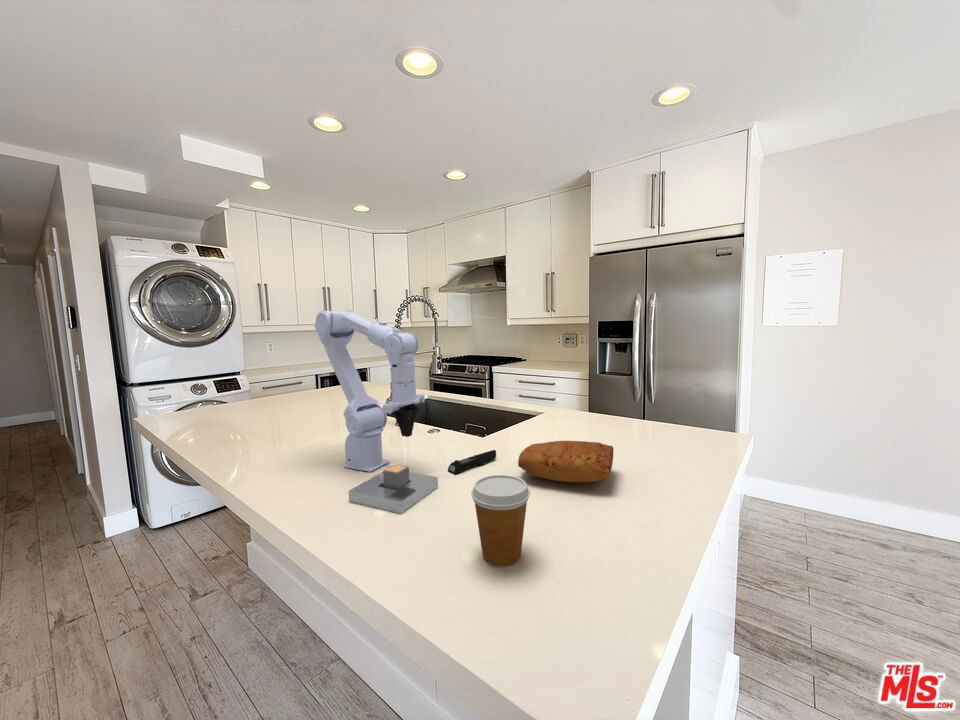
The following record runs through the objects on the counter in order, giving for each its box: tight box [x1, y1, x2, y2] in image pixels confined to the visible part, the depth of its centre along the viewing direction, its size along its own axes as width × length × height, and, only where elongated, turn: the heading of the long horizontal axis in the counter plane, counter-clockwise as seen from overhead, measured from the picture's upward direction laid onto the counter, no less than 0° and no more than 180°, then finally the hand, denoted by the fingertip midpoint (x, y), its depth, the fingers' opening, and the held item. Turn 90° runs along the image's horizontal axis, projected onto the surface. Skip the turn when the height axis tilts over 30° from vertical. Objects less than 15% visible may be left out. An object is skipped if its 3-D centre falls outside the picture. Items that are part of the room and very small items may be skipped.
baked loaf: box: [517, 440, 614, 483], centre depth 97 cm, size 22×17×8 cm
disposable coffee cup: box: [470, 474, 531, 567], centre depth 65 cm, size 10×10×12 cm
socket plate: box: [348, 471, 439, 515], centre depth 90 cm, size 14×14×3 cm
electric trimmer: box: [447, 449, 497, 475], centre depth 107 cm, size 4×16×3 cm, turn 131°
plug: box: [382, 464, 410, 490], centre depth 89 cm, size 4×4×6 cm
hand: (406, 435), depth 99 cm, fingers closed
